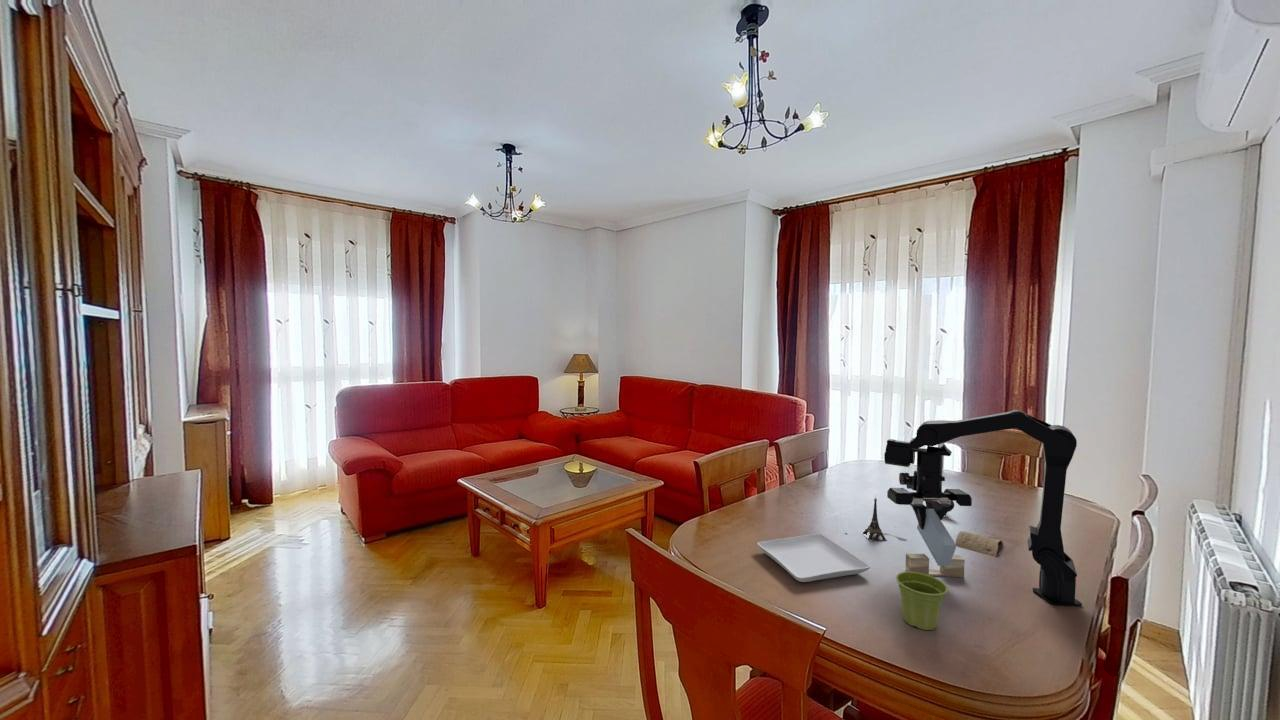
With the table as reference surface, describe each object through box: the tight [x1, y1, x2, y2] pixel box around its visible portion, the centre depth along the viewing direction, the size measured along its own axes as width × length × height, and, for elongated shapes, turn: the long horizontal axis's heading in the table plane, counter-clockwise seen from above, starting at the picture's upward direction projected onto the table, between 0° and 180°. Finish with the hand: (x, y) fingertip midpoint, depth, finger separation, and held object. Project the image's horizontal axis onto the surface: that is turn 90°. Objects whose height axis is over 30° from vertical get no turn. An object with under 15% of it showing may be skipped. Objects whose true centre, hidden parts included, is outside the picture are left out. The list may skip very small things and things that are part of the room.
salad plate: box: [756, 533, 871, 583], centre depth 129 cm, size 21×21×3 cm
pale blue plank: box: [916, 509, 957, 567], centre depth 123 cm, size 12×3×7 cm, turn 176°
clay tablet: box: [955, 530, 1003, 558], centre depth 141 cm, size 14×10×3 cm
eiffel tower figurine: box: [862, 494, 908, 542], centre depth 146 cm, size 15×10×13 cm
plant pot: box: [895, 571, 949, 631], centre depth 103 cm, size 9×9×9 cm
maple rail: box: [904, 552, 966, 578], centre depth 124 cm, size 3×13×4 cm, turn 86°
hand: (927, 528), depth 127 cm, fingers closed on pale blue plank, 3 cm apart
